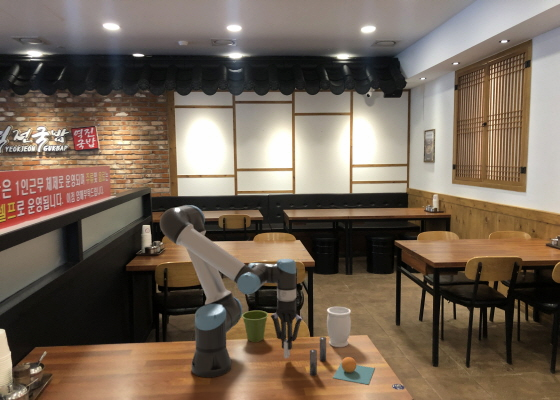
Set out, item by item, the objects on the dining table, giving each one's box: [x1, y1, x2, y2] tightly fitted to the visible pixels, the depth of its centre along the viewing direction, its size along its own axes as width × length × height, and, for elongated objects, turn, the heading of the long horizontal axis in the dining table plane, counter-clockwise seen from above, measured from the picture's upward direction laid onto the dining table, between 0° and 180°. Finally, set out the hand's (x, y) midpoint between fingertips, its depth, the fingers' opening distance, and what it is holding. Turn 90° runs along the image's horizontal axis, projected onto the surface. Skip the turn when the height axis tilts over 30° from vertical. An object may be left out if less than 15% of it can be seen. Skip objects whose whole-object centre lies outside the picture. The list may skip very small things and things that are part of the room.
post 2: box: [319, 336, 327, 362], centre depth 170 cm, size 3×3×9 cm
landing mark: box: [332, 361, 375, 386], centre depth 159 cm, size 13×13×1 cm
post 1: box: [309, 349, 318, 377], centre depth 158 cm, size 3×3×9 cm
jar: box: [326, 306, 352, 348], centre depth 185 cm, size 11×10×15 cm
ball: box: [341, 356, 357, 373], centre depth 160 cm, size 6×6×6 cm
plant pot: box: [241, 310, 269, 343], centre depth 191 cm, size 12×12×11 cm
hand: (286, 356), depth 169 cm, fingers closed
